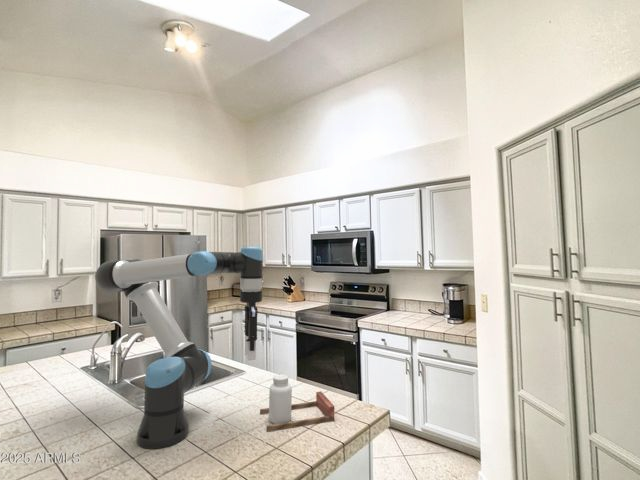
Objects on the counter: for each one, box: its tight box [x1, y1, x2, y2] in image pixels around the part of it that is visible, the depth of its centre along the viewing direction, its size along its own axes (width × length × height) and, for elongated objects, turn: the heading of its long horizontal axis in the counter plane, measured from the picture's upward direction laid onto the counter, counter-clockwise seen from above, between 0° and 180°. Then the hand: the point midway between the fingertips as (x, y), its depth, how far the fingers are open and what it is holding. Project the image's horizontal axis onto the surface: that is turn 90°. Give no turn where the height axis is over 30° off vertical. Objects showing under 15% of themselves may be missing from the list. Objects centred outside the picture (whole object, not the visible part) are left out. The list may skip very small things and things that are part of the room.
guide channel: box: [259, 391, 335, 433], centre depth 123 cm, size 24×14×5 cm, turn 109°
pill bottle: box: [268, 373, 293, 425], centre depth 121 cm, size 8×8×15 cm
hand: (250, 357), depth 118 cm, fingers open, 6 cm apart
